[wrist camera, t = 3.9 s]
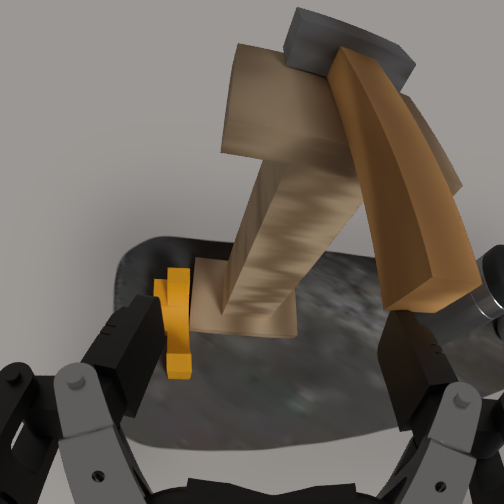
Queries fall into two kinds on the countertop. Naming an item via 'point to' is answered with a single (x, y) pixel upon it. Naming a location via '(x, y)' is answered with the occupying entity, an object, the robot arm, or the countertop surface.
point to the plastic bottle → (500, 326)
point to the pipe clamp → (176, 320)
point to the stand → (282, 194)
